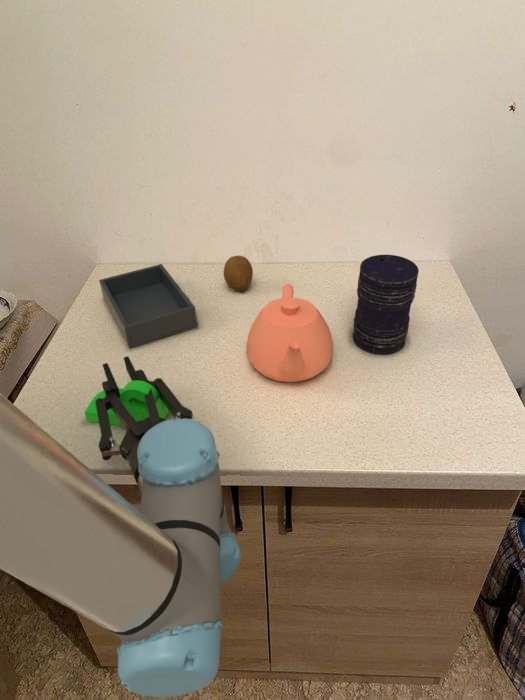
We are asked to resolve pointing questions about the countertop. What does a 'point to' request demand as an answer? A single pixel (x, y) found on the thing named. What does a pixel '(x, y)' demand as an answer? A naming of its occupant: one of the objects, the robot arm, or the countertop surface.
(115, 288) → the dark grey open tray
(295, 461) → the countertop surface
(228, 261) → the fruit
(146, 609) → the robot arm
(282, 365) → the teapot
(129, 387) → the mechanical part
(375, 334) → the dark blue cylinder
